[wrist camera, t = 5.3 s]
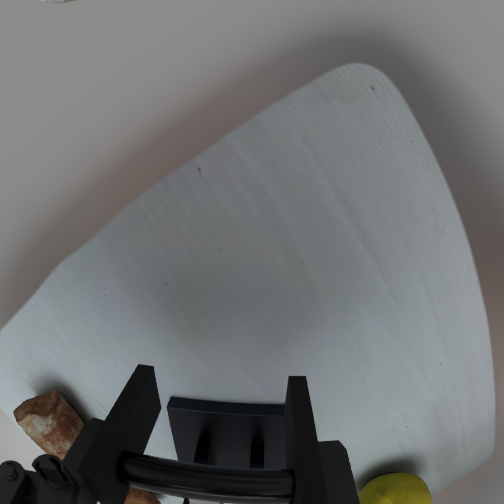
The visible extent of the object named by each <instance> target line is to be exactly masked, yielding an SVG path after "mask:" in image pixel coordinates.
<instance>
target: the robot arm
mask: <svg viewBox="0 0 504 504" xmlns="http://www.w3.org/2000/svg"><path fill="white" fill-rule="evenodd" d="M160 410H161V404H160V399H159V394H158V388H157V383H156V378H155V372H154V366H148V365H141V364H138V366H137V367H136V369H135V371H134V372H133V374H132V376H131V377H130V379H129V381H128V382H127V384H126V386H125V387H124V389H123V391H122V392H121V394H120V396H119V397H118V399H117V401H116V402H115V404H114V406H113V407H112V409H111V411H110V413H109V414H108V416H107V418H106V419H105V421H104V420H100V419H96V418H93V419H91V420H90V421H89V422H87V423H86V424H85V425H84V426H83V428H82V429H81V431H80V433H79V435H78V436H77V437H76V439H75V442H73V444H72V445H71V447H70V449H69V450H68V452H67V454H66V455H65V457H64V459H63V460H61V459H60V458H58V457H57V456H55V455H52V454H43V455H41V456H38V457H37V458H36V459H35V460H34V461H33V463H32V466H33V468H34V469H35V470H36V472H34V471H28V470H25V469H24V468H23V467H22V465H21V464H19V463H18V462H16V461H5V462H3V463H2V464H1V465H0V504H97V502H98V501H99V502H100V504H124V502H125V500H126V497H127V494H128V492H129V489H130V487H131V486H127V485H123V484H121V483H120V482H119V481H118V479H117V475H116V466H117V461H118V458H119V456H120V454H121V453H122V452H123V451H126V450H127V451H131V452H136V453H140V454H143V453H144V450H145V448H146V445H147V443H148V440H149V438H150V435H151V433H152V430H153V428H154V425H155V423H156V420H157V418H158V415H159V413H160ZM283 420H284V436H285V452H286V468H292V469H293V470H294V474H295V496H294V501H293V503H292V504H360V501H359V499H358V494H357V490H356V486H355V482H354V478H353V474H352V471H351V466H350V462H349V458H348V454H347V450H346V448H345V447H344V446H343V445H342V444H341V442H340V441H339V440H335V441H321V442H318V440H317V434H316V428H315V423H314V417H313V412H312V406H311V401H310V395H309V390H308V385H307V380H306V376H289V378H288V386H287V394H286V402H285V409H284V417H283Z"/></svg>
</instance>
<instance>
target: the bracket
mask: <svg viewBox="0 0 504 504" xmlns="http://www.w3.org/2000/svg"><path fill="white" fill-rule="evenodd" d="M284 409H285V405H265V404H241V403H225V402H213V401H202V400H193V399H184V398H176V397H170V400H169V402H168V405H167V411H168V416H169V421H170V426H171V431H172V435H173V440H174V444H175V449H176V453H177V457H178V461H183V462H189V463H197V464H205V465H214V466H226V467H240V468H269V469H283V468H286V452H285V436H284V420H283V417H284ZM183 504H190V502H189V499H188V498H184V502H183Z"/></svg>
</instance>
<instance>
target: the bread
mask: <svg viewBox="0 0 504 504" xmlns="http://www.w3.org/2000/svg"><path fill="white" fill-rule="evenodd" d="M13 412H14V416H15V418H16V421H17V423H18V424H19V425H20V426H21V428H22V429H23V430H24V432H25V433H26V434H27V435H28V436H29V437H30V438H31V439H32V440H33V441H34V442H35V443H36V444H37V445H38V446H39V447H40V448H41V449H42V450H43V451H44V452H45V453H46V454H52V455H55V456H57V457H58V458H60V459H61V460H63V459H64V457H65V455H66V454H67V452H68V450H69V449H70V447H71V445H72V444H73V442H75V439H76V437H77V436H78V435H79V433H80V431H81V429H82V428H83V426H84V425H85V424H84V423H83V421H82V420H81V419H80V417H79V416H78V415H77V414H76V412H75V411H74V410H73V409H72V407H71V406H70V405H69V403H68V402H67V401H66V400H65V398H64V397H63V396H62V395H61V394H60V393H59V392H58V391H56V390H53V391H51V392H50V393H49V394H48V395H46V394H44V395H39V396H36V397H34V398H31V399H28V400H26V401H24V402H23V403H22V404H21V405H20V406H18V407H17V408H16V409H15V410H14V411H13ZM124 504H161V503H160V501H159V500H158V499H157V498H156V497H155V496H153V495H152V494H151V493H150V492H149V491H147V490H142V489H138V488H134V487H130V489H129V492H128V494H127V497H126V500H125V502H124Z"/></svg>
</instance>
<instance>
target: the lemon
mask: <svg viewBox="0 0 504 504" xmlns="http://www.w3.org/2000/svg"><path fill="white" fill-rule="evenodd" d="M358 499H359V501H360V504H431V503H432V502H431V494H430V491H429V489H428V486H427V484H426V483H425V482H424V481H423V480H422V479H421V478H420V477H418V476H416V475H414V474H410V473H403V472H398V473H391V474H385V475H382V476H378V477H377V478H375V479H373V480H372V481H370V482H369V483H368V484H366V486H365V487H364V488H363V489H362V490H361V492H360V494H359V496H358Z"/></svg>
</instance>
